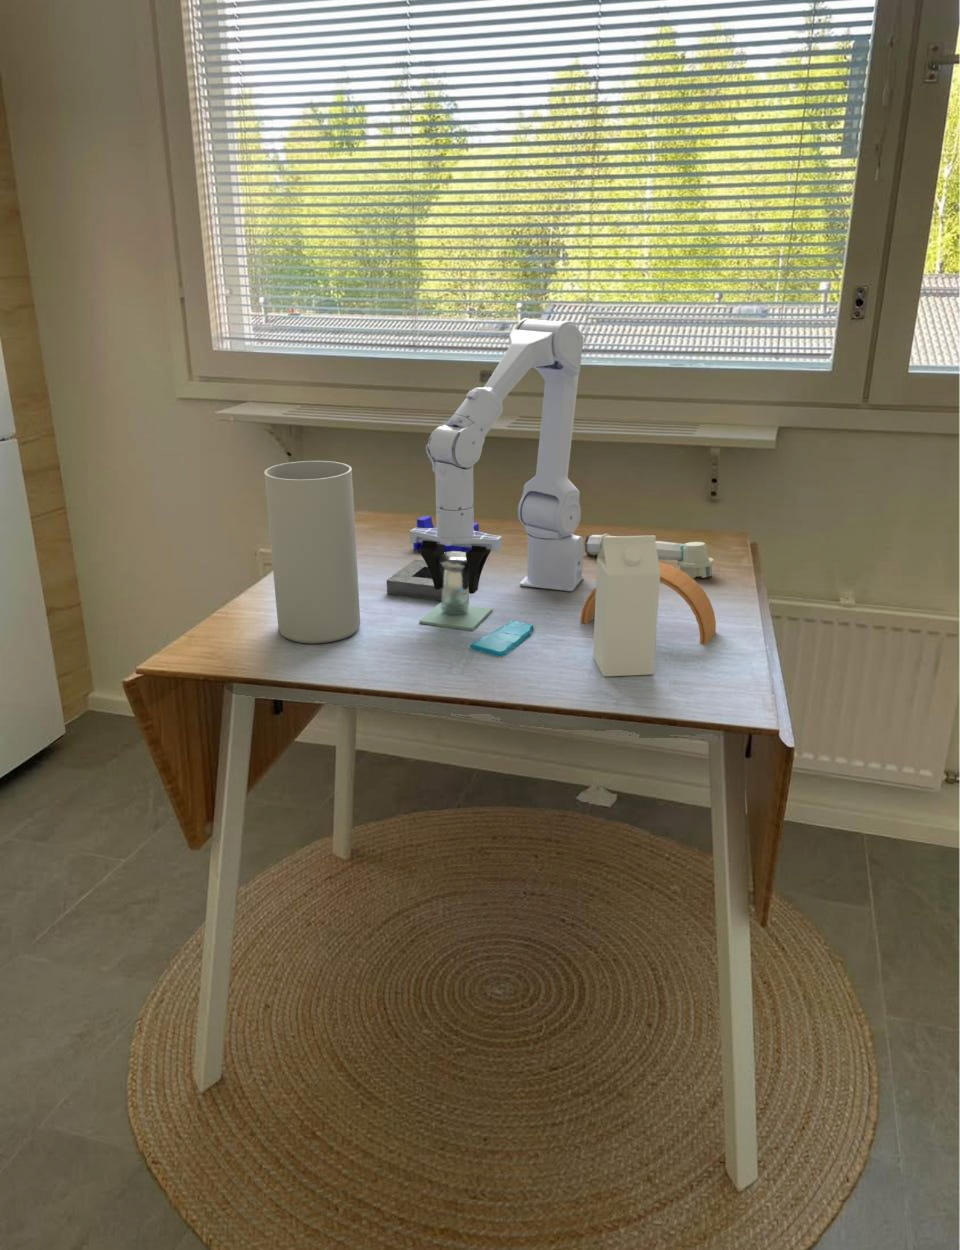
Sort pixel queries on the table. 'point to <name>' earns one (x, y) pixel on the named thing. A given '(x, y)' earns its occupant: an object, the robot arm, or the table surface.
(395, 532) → the table surface
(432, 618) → the mat
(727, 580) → the table surface
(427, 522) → the blue bearing cradle
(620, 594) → the milk carton
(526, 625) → the sponge
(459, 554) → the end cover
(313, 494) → the cylinder vase
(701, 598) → the arch
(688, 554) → the angle grinder
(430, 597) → the socket block
